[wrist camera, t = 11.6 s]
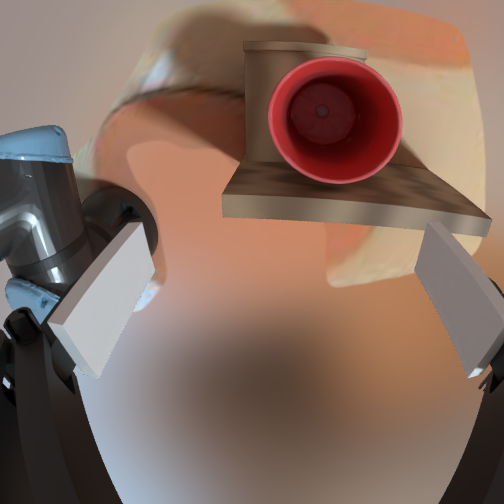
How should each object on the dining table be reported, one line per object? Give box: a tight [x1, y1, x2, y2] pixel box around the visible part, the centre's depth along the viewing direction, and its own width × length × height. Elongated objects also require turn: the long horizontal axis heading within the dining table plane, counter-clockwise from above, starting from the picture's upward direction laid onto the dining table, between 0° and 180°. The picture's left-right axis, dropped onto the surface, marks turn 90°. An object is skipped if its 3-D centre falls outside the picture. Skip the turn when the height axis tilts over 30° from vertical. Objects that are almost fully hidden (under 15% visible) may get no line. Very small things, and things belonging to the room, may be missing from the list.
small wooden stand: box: [243, 41, 367, 163], centre depth 29 cm, size 13×14×6 cm
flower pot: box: [267, 56, 402, 184], centre depth 23 cm, size 11×11×10 cm
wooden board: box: [222, 154, 492, 237], centre depth 28 cm, size 26×2×16 cm, turn 91°
